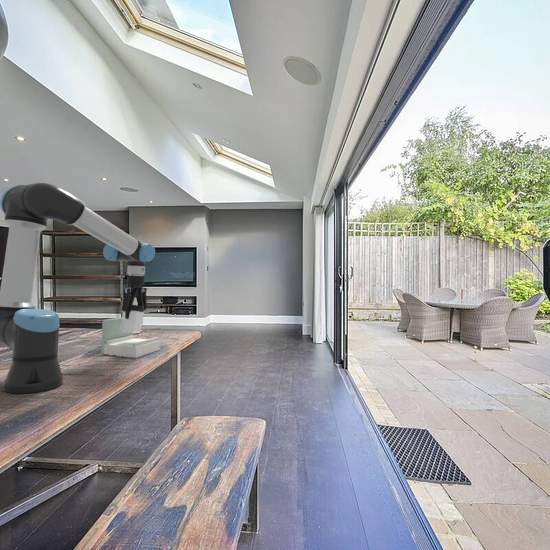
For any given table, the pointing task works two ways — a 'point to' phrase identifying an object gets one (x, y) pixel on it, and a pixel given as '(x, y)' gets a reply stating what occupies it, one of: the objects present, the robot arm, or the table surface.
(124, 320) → the jar
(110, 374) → the table surface
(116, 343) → the display stand
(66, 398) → the table surface
